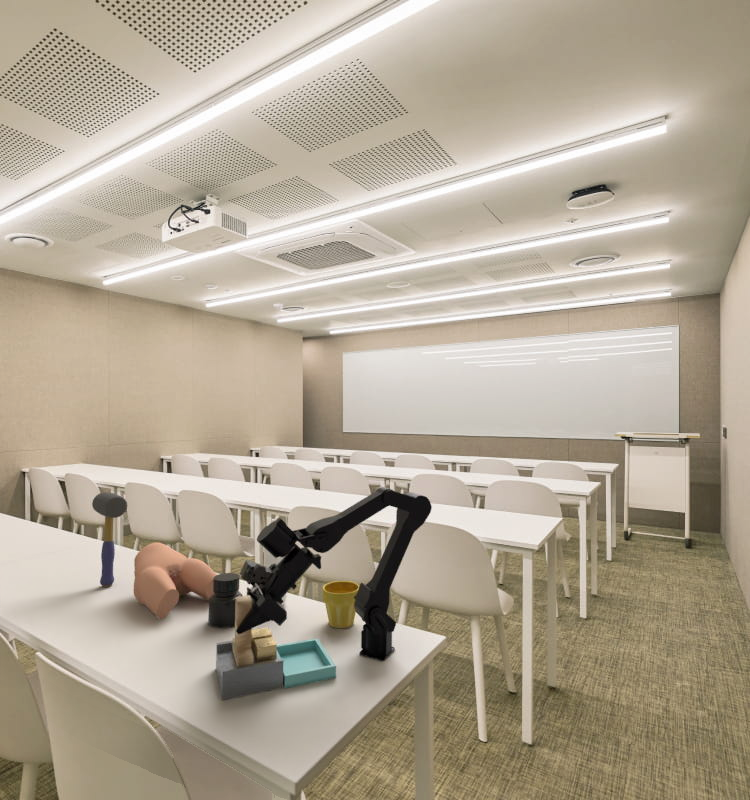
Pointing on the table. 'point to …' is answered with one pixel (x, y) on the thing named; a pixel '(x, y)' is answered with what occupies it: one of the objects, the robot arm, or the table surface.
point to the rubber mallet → (108, 530)
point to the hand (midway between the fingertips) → (236, 629)
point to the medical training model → (168, 578)
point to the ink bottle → (223, 600)
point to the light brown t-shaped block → (242, 640)
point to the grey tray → (245, 674)
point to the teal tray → (305, 663)
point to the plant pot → (340, 602)
